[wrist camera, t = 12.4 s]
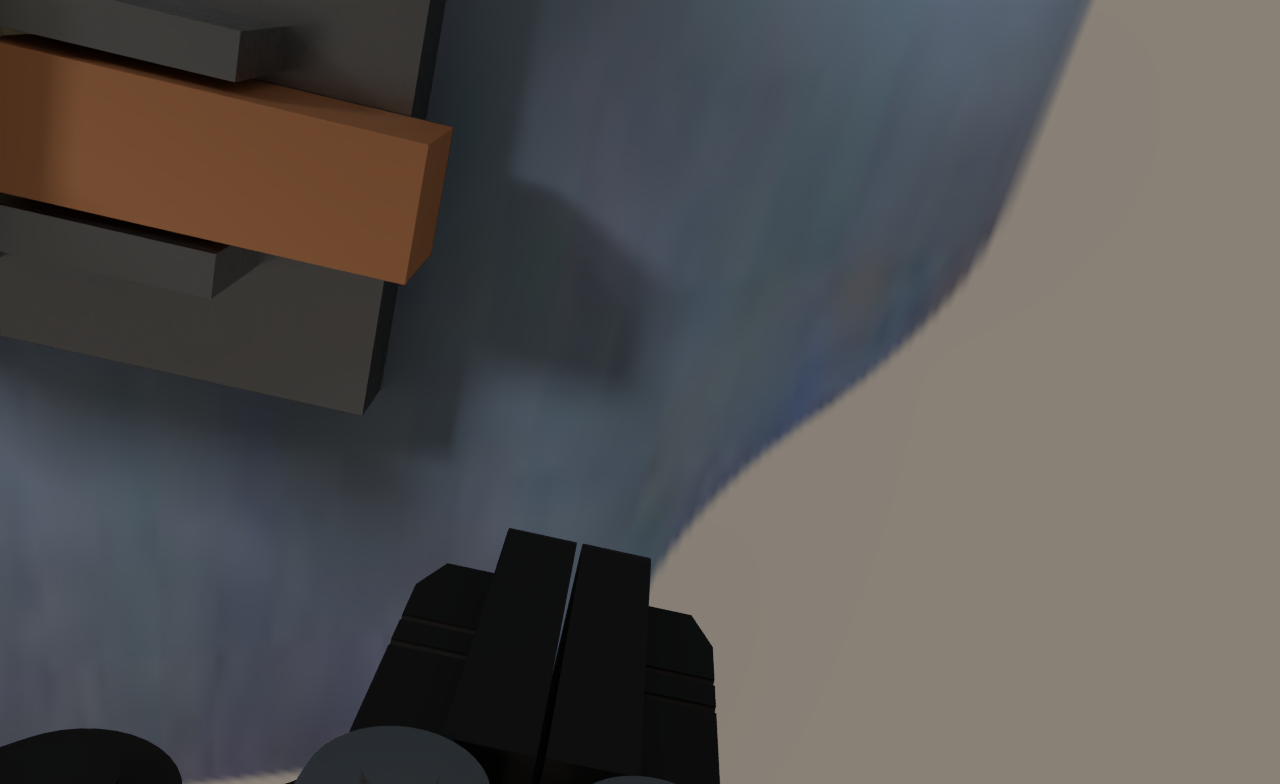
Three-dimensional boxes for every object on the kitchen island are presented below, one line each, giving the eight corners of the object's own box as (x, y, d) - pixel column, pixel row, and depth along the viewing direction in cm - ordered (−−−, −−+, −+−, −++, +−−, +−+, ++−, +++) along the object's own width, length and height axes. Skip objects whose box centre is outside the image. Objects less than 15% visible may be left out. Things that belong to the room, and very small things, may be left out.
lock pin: (47, 164, 26) (-27, 186, 23) (54, 31, 25) (-22, 37, 22) (431, 253, 27) (405, 284, 24) (453, 127, 26) (428, 144, 23)
